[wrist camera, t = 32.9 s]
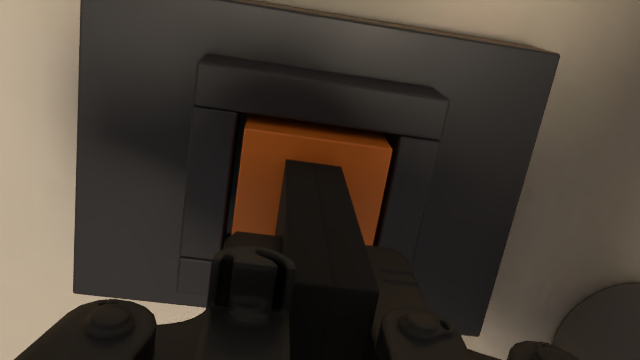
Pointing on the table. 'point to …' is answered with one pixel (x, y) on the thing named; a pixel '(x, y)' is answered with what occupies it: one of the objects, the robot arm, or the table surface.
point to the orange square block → (309, 146)
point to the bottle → (604, 326)
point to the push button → (304, 105)
